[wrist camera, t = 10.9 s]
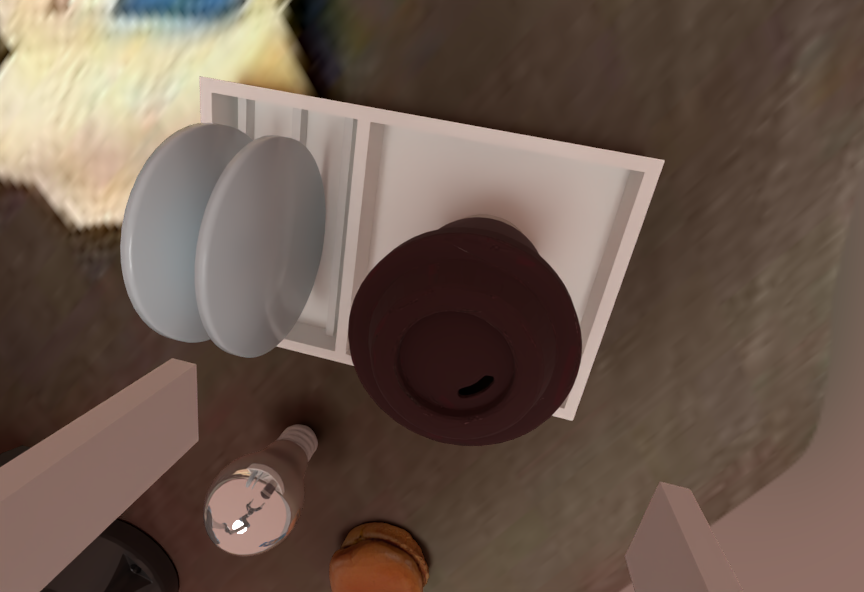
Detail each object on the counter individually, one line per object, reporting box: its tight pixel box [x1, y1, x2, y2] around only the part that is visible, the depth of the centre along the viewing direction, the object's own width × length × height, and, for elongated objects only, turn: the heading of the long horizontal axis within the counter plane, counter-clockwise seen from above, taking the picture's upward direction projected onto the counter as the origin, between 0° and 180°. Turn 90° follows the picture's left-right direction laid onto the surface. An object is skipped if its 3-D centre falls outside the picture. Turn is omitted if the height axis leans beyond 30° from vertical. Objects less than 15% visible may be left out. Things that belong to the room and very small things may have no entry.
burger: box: [329, 522, 429, 592], centre depth 42 cm, size 10×9×5 cm
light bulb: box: [203, 424, 318, 556], centre depth 34 cm, size 7×7×12 cm
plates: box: [120, 123, 326, 358], centre depth 26 cm, size 4×13×13 cm, turn 170°
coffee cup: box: [348, 215, 582, 446], centre depth 24 cm, size 10×10×15 cm
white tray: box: [199, 76, 665, 421], centre depth 30 cm, size 28×18×4 cm, turn 80°
